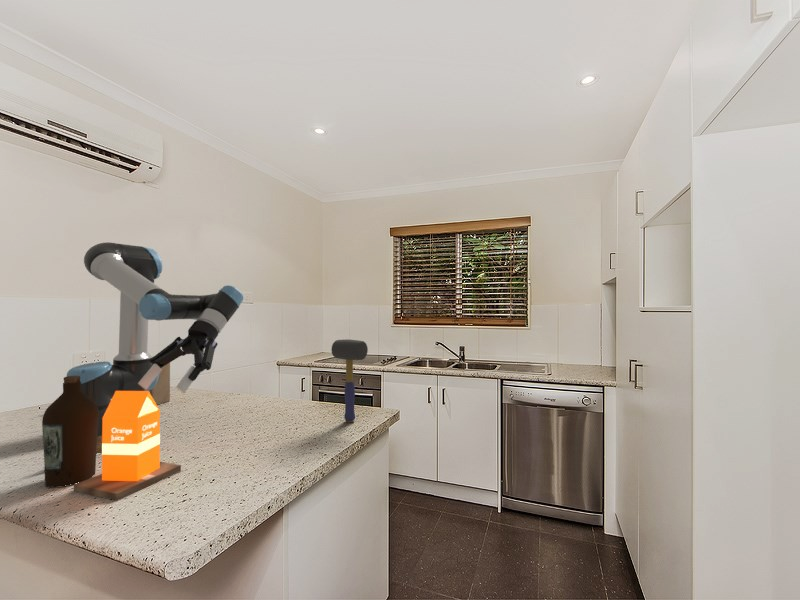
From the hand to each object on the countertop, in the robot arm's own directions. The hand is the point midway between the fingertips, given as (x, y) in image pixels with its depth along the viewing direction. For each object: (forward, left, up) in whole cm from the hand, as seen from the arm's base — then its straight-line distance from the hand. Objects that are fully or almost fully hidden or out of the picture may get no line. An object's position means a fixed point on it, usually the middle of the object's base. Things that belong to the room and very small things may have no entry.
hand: (160, 388), depth 100 cm
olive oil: (-16, -11, -21) cm, 29 cm away
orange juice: (0, -7, -19) cm, 21 cm away
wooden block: (-68, +51, -21) cm, 87 cm away
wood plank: (-26, -3, -21) cm, 34 cm away
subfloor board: (-1, -7, -21) cm, 22 cm away
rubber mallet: (+28, +53, -21) cm, 63 cm away
